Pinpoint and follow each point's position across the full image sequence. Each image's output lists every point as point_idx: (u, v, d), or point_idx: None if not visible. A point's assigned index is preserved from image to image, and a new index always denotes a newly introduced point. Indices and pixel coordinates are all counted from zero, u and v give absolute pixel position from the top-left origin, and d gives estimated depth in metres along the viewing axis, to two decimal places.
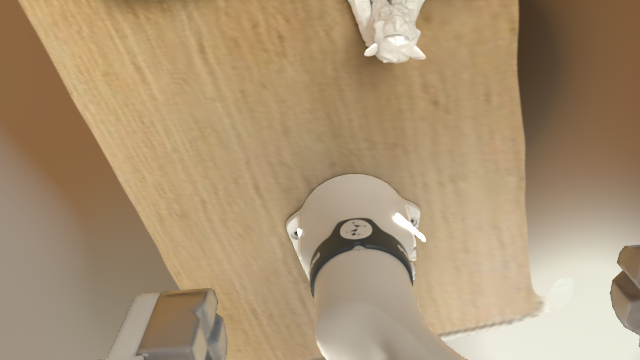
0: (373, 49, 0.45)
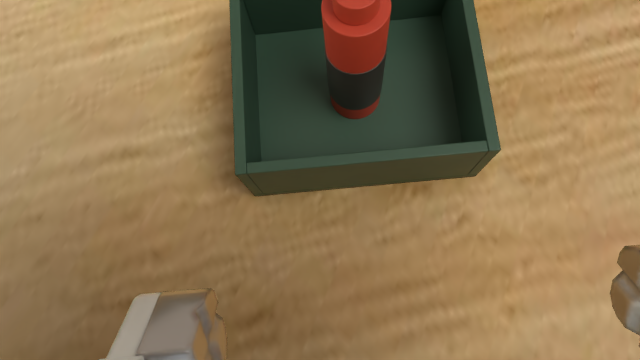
0: None
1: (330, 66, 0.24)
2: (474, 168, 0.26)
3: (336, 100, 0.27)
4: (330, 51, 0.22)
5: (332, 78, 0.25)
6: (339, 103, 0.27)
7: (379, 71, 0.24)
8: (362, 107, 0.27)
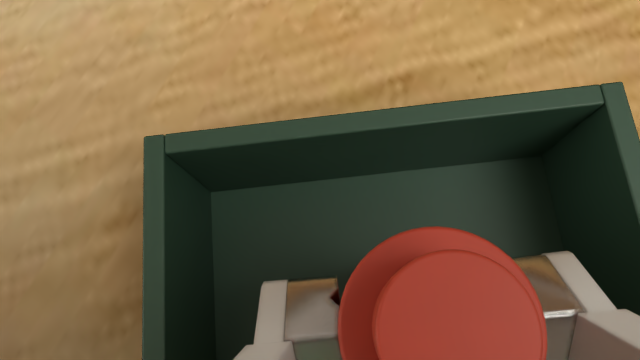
0: None
1: None
2: None
3: None
4: None
5: None
6: None
7: None
8: None
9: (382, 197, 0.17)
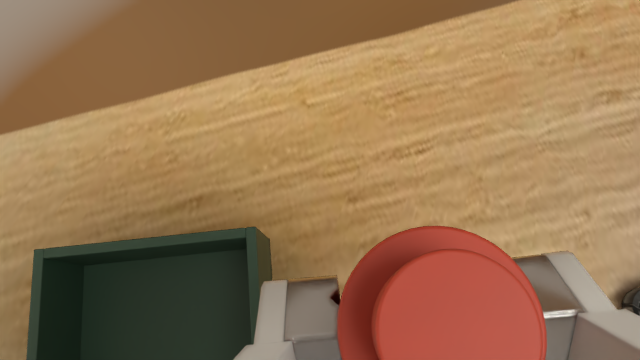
0: None
1: None
2: None
3: None
4: None
5: None
6: None
7: None
8: None
9: (175, 269, 0.31)
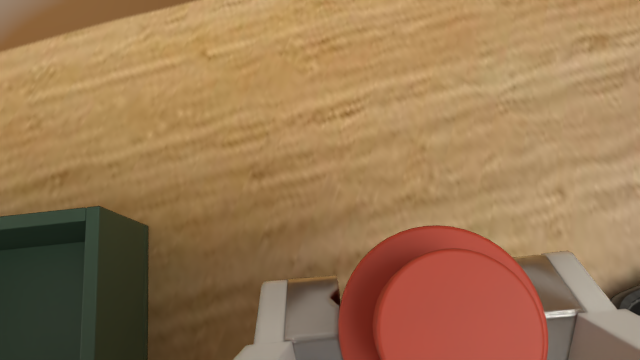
0: None
1: None
2: None
3: None
4: None
5: None
6: None
7: None
8: None
9: (22, 265, 0.24)
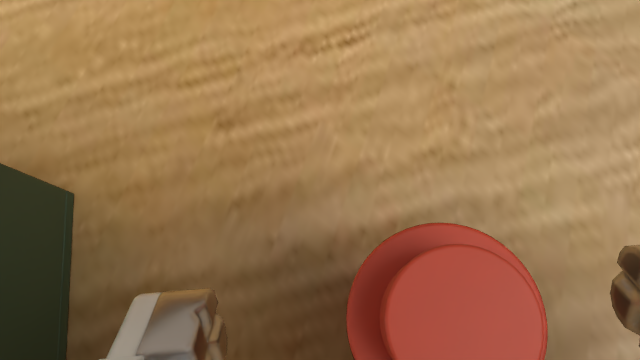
0: None
1: None
2: None
3: None
4: None
5: None
6: None
7: None
8: None
9: None
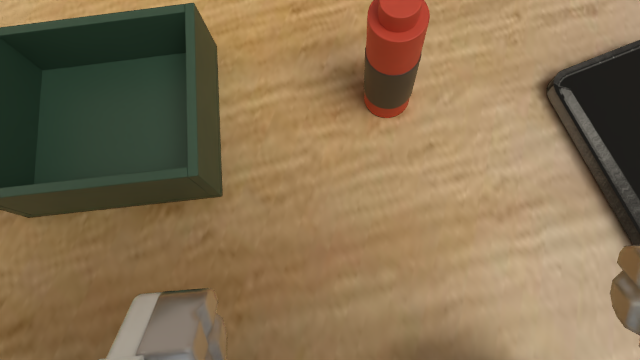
0: None
1: (370, 69, 0.26)
2: (206, 190, 0.29)
3: (371, 100, 0.30)
4: (372, 55, 0.25)
5: (371, 80, 0.27)
6: (374, 103, 0.30)
7: (414, 73, 0.27)
8: (395, 107, 0.30)
9: (126, 71, 0.33)
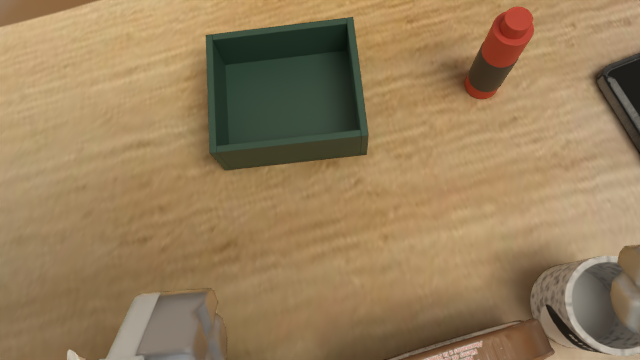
0: None
1: (484, 63, 0.39)
2: (361, 148, 0.42)
3: (475, 86, 0.42)
4: (490, 54, 0.37)
5: (481, 71, 0.40)
6: (477, 88, 0.42)
7: None
8: (491, 90, 0.42)
9: (289, 65, 0.46)
